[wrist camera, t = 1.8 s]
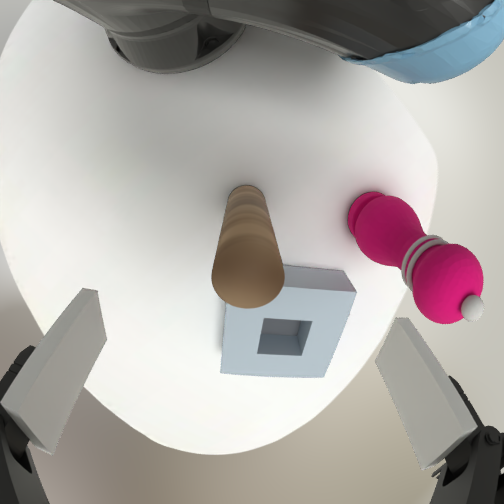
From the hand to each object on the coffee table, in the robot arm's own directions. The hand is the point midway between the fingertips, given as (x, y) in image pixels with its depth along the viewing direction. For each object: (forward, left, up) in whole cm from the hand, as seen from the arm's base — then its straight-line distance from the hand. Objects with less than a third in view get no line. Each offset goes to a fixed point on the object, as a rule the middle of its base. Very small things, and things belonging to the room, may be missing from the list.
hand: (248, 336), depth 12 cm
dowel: (0, 0, -21) cm, 21 cm away
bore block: (+14, +6, -21) cm, 26 cm away
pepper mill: (-1, +15, -21) cm, 26 cm away
